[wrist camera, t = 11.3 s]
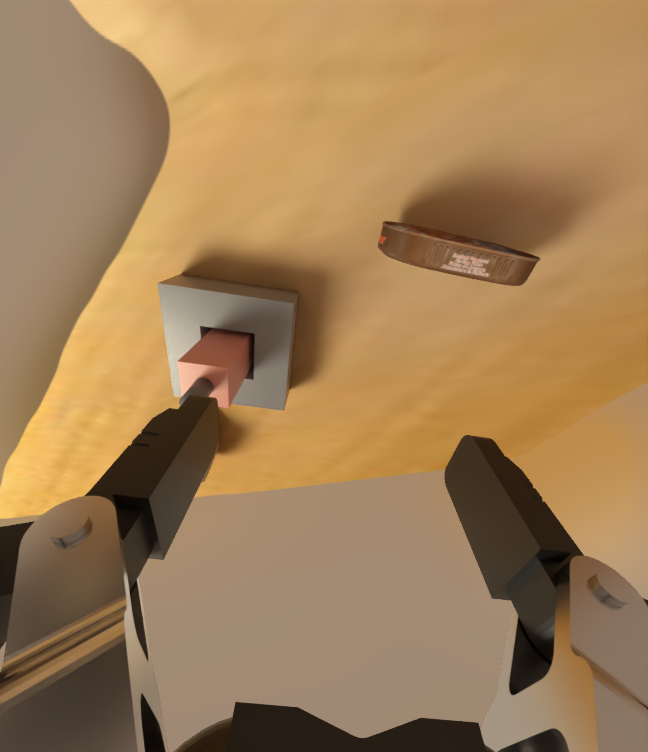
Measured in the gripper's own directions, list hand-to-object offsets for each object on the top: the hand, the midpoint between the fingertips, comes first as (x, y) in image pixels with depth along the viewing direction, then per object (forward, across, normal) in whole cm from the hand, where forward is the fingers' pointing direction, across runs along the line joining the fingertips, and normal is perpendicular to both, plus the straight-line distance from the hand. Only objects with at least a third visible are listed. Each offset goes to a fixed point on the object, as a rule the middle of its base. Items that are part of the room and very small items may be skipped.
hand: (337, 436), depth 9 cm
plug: (+26, +11, +10) cm, 30 cm away
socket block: (+27, +11, +10) cm, 31 cm away
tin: (+28, -11, -5) cm, 30 cm away
